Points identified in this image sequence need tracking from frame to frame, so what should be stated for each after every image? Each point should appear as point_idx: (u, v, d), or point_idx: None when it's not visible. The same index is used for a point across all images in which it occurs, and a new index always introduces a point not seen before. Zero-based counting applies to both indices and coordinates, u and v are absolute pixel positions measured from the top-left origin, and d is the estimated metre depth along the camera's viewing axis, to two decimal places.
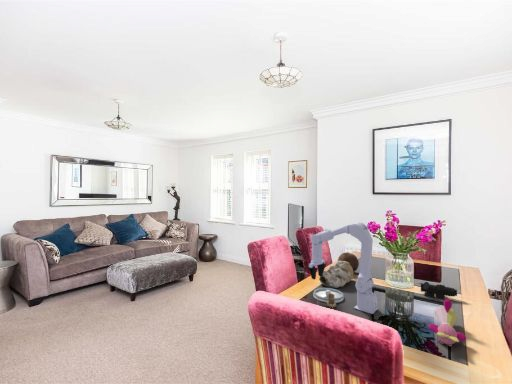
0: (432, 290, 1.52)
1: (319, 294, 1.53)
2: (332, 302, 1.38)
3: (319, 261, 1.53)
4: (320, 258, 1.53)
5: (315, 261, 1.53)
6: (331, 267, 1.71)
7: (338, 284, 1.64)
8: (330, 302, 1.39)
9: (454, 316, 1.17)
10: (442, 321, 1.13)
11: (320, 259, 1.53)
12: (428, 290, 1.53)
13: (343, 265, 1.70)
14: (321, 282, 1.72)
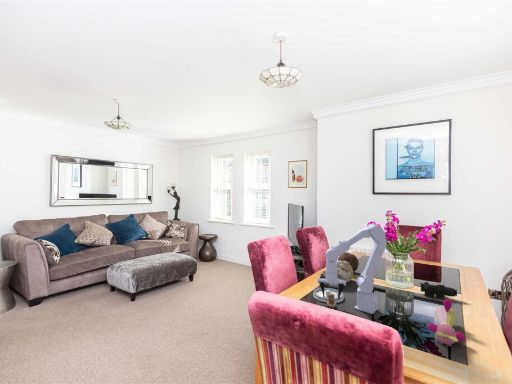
0: (432, 290, 1.52)
1: (319, 294, 1.53)
2: (332, 302, 1.38)
3: (328, 279, 1.38)
4: (330, 276, 1.37)
5: (326, 278, 1.40)
6: None
7: None
8: (330, 302, 1.39)
9: (453, 316, 1.17)
10: (442, 321, 1.14)
11: (330, 277, 1.37)
12: (428, 290, 1.53)
13: (343, 265, 1.71)
14: None
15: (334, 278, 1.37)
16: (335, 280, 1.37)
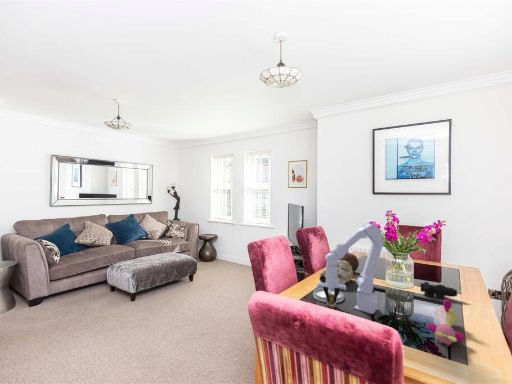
0: (432, 290, 1.52)
1: (319, 294, 1.53)
2: (332, 302, 1.38)
3: (328, 284, 1.38)
4: (330, 281, 1.37)
5: (326, 282, 1.40)
6: None
7: None
8: (330, 302, 1.39)
9: (453, 316, 1.17)
10: (441, 321, 1.14)
11: (330, 282, 1.37)
12: (428, 290, 1.53)
13: (343, 265, 1.71)
14: (321, 282, 1.72)
15: (334, 283, 1.37)
16: (335, 284, 1.37)
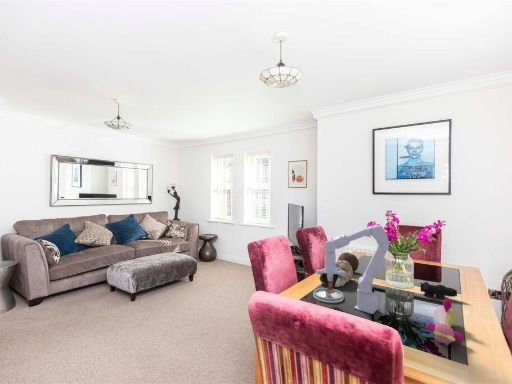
0: (432, 290, 1.52)
1: (319, 294, 1.53)
2: (331, 288, 1.42)
3: (327, 270, 1.41)
4: (329, 267, 1.41)
5: (324, 269, 1.43)
6: None
7: (338, 283, 1.65)
8: (329, 288, 1.42)
9: (453, 316, 1.17)
10: (440, 320, 1.14)
11: (329, 268, 1.41)
12: (428, 290, 1.53)
13: (343, 265, 1.71)
14: (321, 282, 1.73)
15: (333, 269, 1.41)
16: (334, 271, 1.41)
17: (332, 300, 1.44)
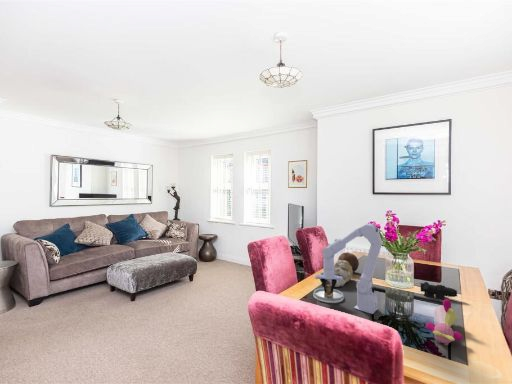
0: (432, 290, 1.52)
1: (319, 294, 1.53)
2: (329, 293, 1.46)
3: (326, 275, 1.45)
4: (327, 272, 1.45)
5: (323, 274, 1.48)
6: None
7: (338, 283, 1.65)
8: (327, 293, 1.46)
9: (453, 315, 1.17)
10: (440, 320, 1.14)
11: (327, 273, 1.45)
12: (428, 290, 1.53)
13: (343, 264, 1.72)
14: None
15: (331, 274, 1.45)
16: (332, 276, 1.45)
17: (332, 300, 1.44)
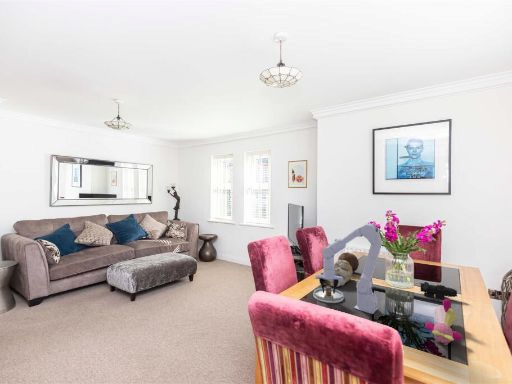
0: (432, 290, 1.52)
1: (319, 294, 1.53)
2: (329, 294, 1.46)
3: (326, 275, 1.45)
4: (327, 272, 1.45)
5: (323, 274, 1.48)
6: None
7: (339, 283, 1.65)
8: (327, 294, 1.46)
9: (453, 315, 1.17)
10: (440, 320, 1.14)
11: (327, 273, 1.45)
12: (428, 290, 1.53)
13: (343, 264, 1.72)
14: None
15: (331, 274, 1.45)
16: (332, 276, 1.45)
17: (332, 300, 1.44)
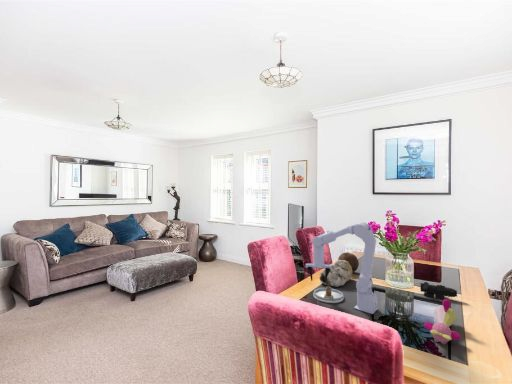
0: (432, 290, 1.52)
1: (319, 294, 1.53)
2: (329, 294, 1.46)
3: (316, 264, 1.50)
4: (317, 261, 1.49)
5: (313, 263, 1.52)
6: None
7: (339, 283, 1.66)
8: (327, 294, 1.46)
9: (452, 315, 1.17)
10: (439, 320, 1.14)
11: (317, 262, 1.49)
12: (428, 290, 1.53)
13: (343, 264, 1.73)
14: (321, 281, 1.74)
15: (321, 262, 1.49)
16: (322, 264, 1.49)
17: (332, 300, 1.44)
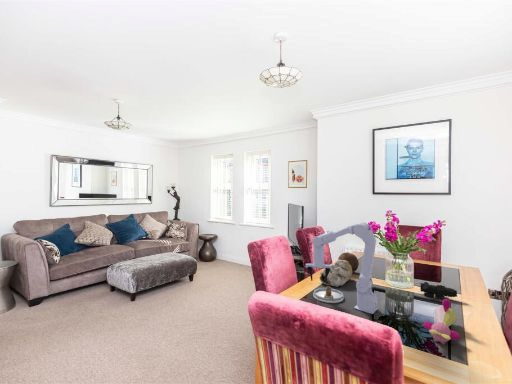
0: (432, 290, 1.52)
1: (319, 294, 1.53)
2: (329, 294, 1.46)
3: (316, 264, 1.50)
4: (317, 261, 1.49)
5: (313, 263, 1.52)
6: None
7: (339, 283, 1.66)
8: (327, 294, 1.46)
9: (452, 315, 1.17)
10: (439, 320, 1.15)
11: (317, 262, 1.49)
12: (428, 290, 1.53)
13: (343, 264, 1.73)
14: (321, 281, 1.74)
15: (321, 262, 1.49)
16: (322, 264, 1.49)
17: (332, 300, 1.44)
